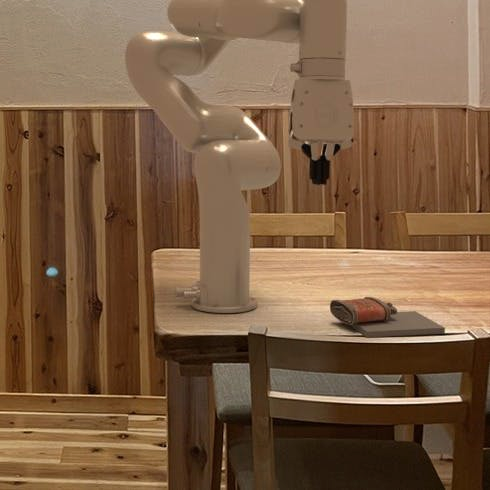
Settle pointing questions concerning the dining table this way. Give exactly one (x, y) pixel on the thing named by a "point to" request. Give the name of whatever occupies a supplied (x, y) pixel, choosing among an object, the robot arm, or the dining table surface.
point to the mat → (400, 326)
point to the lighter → (361, 310)
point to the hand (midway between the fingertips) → (319, 183)
